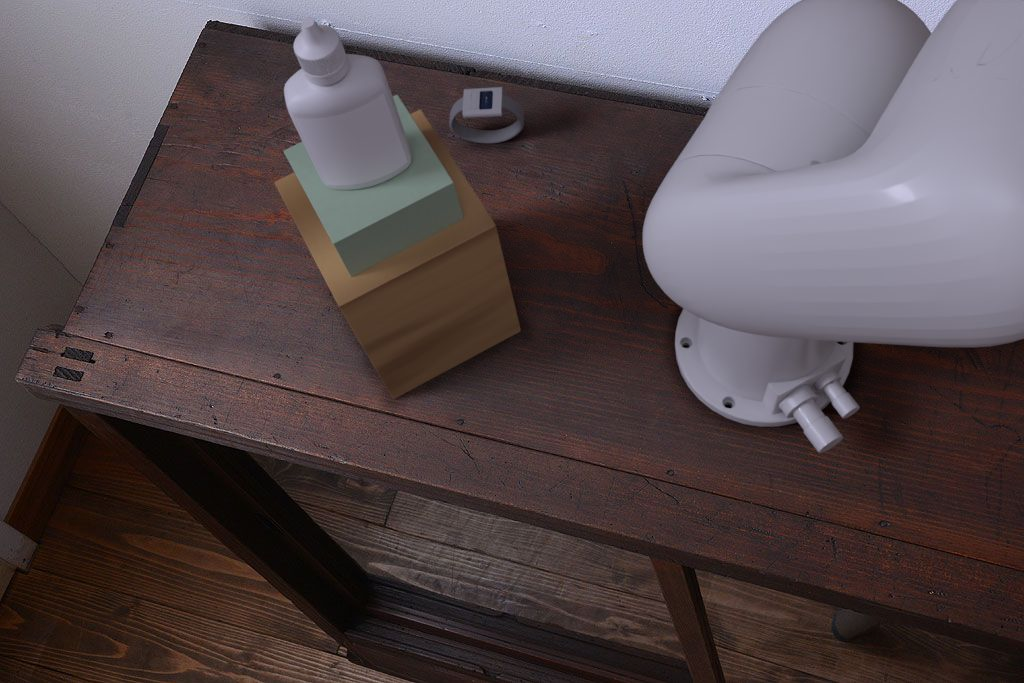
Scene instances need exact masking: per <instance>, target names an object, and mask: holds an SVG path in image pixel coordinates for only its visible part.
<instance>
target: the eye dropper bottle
mask: <svg viewBox="0 0 1024 683" xmlns="http://www.w3.org/2000/svg"><path fill="white" fill-rule="evenodd" d="M300 26H301V31H300V32H299V33H298V35H296V37H295V39H294V41H293V45H292V46H293V47H292V48H293V52H294V54H295V57H296V58H297V62H298V63H299V65H300V69H299V70H297V71H296V72H295V73H294V74H293V75H292V76H290V77H289V78H288V80H287V81H286V82H285V84H284V86H283V96H284V100H285V106H286V110H287V112H288V114H289V116H290V119H291V121H292V123H293V125H294V127H295V129H296V131H297V134H298V136H299V138H300V140H301V142H303V144H304V146H305V148H306V150H307V152H308V154H309V156H310V158H311V160H312V162H313V164H314V166H315V168H316V170H317V172H318V174H319V176H320V178H321V180H322V182H323V183H324V185H325V186H326V187H329V188H331V189H337V190H353V189H361V188H367V187H371V186H374V185H377V184H380V183H382V182H385V181H387V180H389V179H391V178H393V177H395V176H397V175H398V174H400V173H401V172H403V171H404V170H405V169H407V168H408V166H409V165H410V164H411V158H412V157H411V152H410V148H409V144H408V141H407V137H406V134H405V131H404V128H403V125H402V123H401V120H400V117H399V114H398V111H397V108H396V105H395V102H394V99H393V96H394V95H393V94H392V91H391V87H390V85H389V82H388V79H387V76H386V74H385V70H384V68H383V66H382V65H381V63H380V62H379V60H378V59H376V58H374V57H371V56H367V55H361V54H355V53H354V54H353V53H346V51H345V48H344V44H343V43H342V40H341V37H340V34H339V33H338V32H337V30H336V29H335V28H334V27H331V26H329V25H326V24H318V22H317V21H316V20H315V19H314V17H312V16H306V17H304V18H303V19H301V21H300Z"/></svg>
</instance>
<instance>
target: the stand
mask: <svg viewBox="0 0 1024 683" xmlns="http://www.w3.org/2000/svg"><path fill="white" fill-rule="evenodd" d="M410 115H411V116H412V118H413V119H414V121H415V123H416V124H417V126H418V127H419V129H420V130H421V132H422V134H423V135H424V137H425V138H426V140H427V141H428V143H429V145H430V146H431V148H432V149H433V151H434V152H435V154H436V156H437V157H438V159H439V160H440V162H441V163H442V165H443V167H444V168H445V170H446V171H447V173H448V174H449V176H450V178H451V179H452V181H453V182H454V186H455V189H456V193H457V196H458V200H459V203H460V207H461V210H462V214H463V217H464V219H463V220H461V221H459V222H457V223H455V224H453V225H451V226H449V227H447V228H445V229H443V230H441V231H439V232H437V233H436V234H434V235H432V236H430V237H428V238H426V239H424V240H422V241H420V242H418V243H416V244H414V245H412V246H410V247H408V248H407V249H405V250H403V251H401V252H399V253H397V254H395V255H393V256H391V257H389V258H387V259H385V260H383V261H381V262H379V263H377V264H376V265H374V266H372V267H370V268H368V269H366V270H364V271H362V272H360V273H358V274H356V275H354V276H352V277H351V276H350V275H349V273H348V271H347V269H346V267H345V265H344V263H343V262H342V260H341V258H340V256H339V254H338V252H337V250H336V249H335V247H334V245H333V243H332V241H331V239H330V237H329V236H328V234H327V232H326V230H325V228H324V226H323V224H322V223H321V221H320V219H319V217H318V215H317V213H316V211H315V209H314V208H313V206H312V204H311V202H310V200H309V198H308V196H307V195H306V193H305V191H304V189H303V187H302V185H301V183H300V182H299V180H298V178H297V176H296V174H295V172H294V171H293V172H292V173H290V174H288V175H286V176H284V177H282V178H280V179H278V180H276V181H274V185H275V187H276V189H277V191H278V193H279V195H280V196H281V199H282V201H283V202H284V204H285V206H286V208H287V210H288V212H289V213H290V216H291V217H292V220H293V222H294V224H295V226H296V227H297V229H298V232H299V233H300V235H301V237H302V239H303V240H304V243H305V245H306V247H307V249H308V250H309V252H310V255H311V256H312V258H313V260H314V263H315V264H316V265H317V268H318V269H319V271H320V274H321V275H322V277H323V279H324V281H325V283H326V285H327V287H328V288H329V291H330V293H331V294H332V296H333V298H334V300H335V302H336V305H337V306H338V307H339V309H340V312H341V313H342V315H343V316H344V318H345V320H346V321H347V323H348V325H349V327H350V328H351V330H352V332H353V333H354V335H355V337H356V338H357V340H358V342H359V343H360V345H361V346H362V348H363V349H362V350H364V352H365V354H366V355H367V357H368V359H369V361H370V362H371V364H372V366H373V368H374V370H376V373H377V374H378V376H379V378H380V379H381V381H382V383H383V384H384V386H385V388H386V389H387V392H388V393H389V395H390V396H391V398H392V400H395V399H397V398H399V397H401V396H403V395H405V394H407V393H408V392H410V391H412V390H414V389H416V388H417V387H419V386H422V385H423V384H425V383H427V382H429V381H431V380H433V379H434V378H436V377H439V376H440V375H442V374H444V373H446V372H448V371H449V370H451V369H453V368H455V367H457V366H459V365H461V364H463V363H464V362H466V361H468V360H470V359H472V358H474V357H475V356H477V355H479V354H481V353H483V352H485V351H487V350H488V349H490V348H492V347H494V346H497V345H498V344H500V343H501V342H504V341H505V340H507V339H509V338H511V337H513V336H515V335H517V334H519V333H520V332H521V331H522V329H521V325H520V320H519V316H518V312H517V308H516V304H515V300H514V295H513V291H512V288H511V287H512V286H511V283H510V279H509V274H508V270H507V267H506V262H505V258H504V253H503V250H502V245H501V240H500V236H499V233H498V228H497V225H496V223H495V222H494V220H493V219H492V217H491V216H490V214H489V212H488V211H487V209H486V208H485V206H484V204H483V203H482V201H481V200H480V198H479V197H478V195H477V193H476V192H475V191H474V189H473V188H472V186H471V184H470V183H469V181H468V180H467V178H466V177H465V175H464V173H463V171H462V170H461V169H460V167H459V166H458V164H457V163H456V161H455V160H454V158H453V157H452V155H451V153H450V152H449V150H448V149H447V147H446V146H445V144H444V143H443V140H442V139H441V138H440V136H439V135H438V133H437V132H436V130H435V129H434V127H433V126H432V124H431V122H430V121H429V119H428V117H427V116H426V115H425V113H424V111H423V110H422V108H421V109H418V110H416V111H414V112H411V113H410Z"/></svg>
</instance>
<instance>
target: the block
mask: <svg viewBox="0 0 1024 683" xmlns="http://www.w3.org/2000/svg"><path fill="white" fill-rule="evenodd" d="M392 96H393V99H394V102H395V105H396V108H397V111H398V114H399V117H400V120H401V123H402V125H403V128H404V131H405V134H406V137H407V141H408V144H409V148H410V152H411V157H412V158H411V164H410V165H409V166H408V168H407V169H405V170H404V171H403V172H401V173H400V174H398V175H397V176H395V177H393V178H391V179H389V180H387V181H385V182H382V183H380V184H377V185H374V186H371V187H367V188H361V189H353V190H337V189H331V188H329V187H326V186H325V185H324V183H323V182H322V180H321V178H320V176H319V174H318V172H317V170H316V168H315V166H314V164H313V162H312V160H311V158H310V156H309V154H308V152H307V150H306V148H305V146H304V144H303V142H302V141H300V142H298V143H296V144H294V145H292V146H290V147H288V148H285V149H283V153H284V155H285V157H286V159H287V161H288V163H289V164H290V166H291V169H292V171H293V173H294V172H295V174H296V176H297V178H298V180H299V182H300V183H301V185H302V187H303V189H304V191H305V193H306V195H307V196H308V198H309V200H310V202H311V204H312V206H313V208H314V209H315V211H316V213H317V215H318V217H319V219H320V221H321V223H322V224H323V226H324V228H325V230H326V232H327V234H328V236H329V237H330V239H331V241H332V243H333V245H334V247H335V249H336V250H337V252H338V254H339V256H340V258H341V260H342V262H343V263H344V265H345V267H346V269H347V271H348V273H349V275H350V276H351V277H352V276H354V275H356V274H358V273H360V272H362V271H364V270H366V269H368V268H370V267H372V266H374V265H376V264H377V263H379V262H381V261H383V260H385V259H387V258H389V257H391V256H393V255H395V254H397V253H399V252H401V251H403V250H405V249H407V248H408V247H410V246H412V245H414V244H416V243H418V242H420V241H422V240H424V239H426V238H428V237H430V236H432V235H434V234H436V233H437V232H439V231H441V230H443V229H445V228H447V227H449V226H451V225H453V224H455V223H457V222H459V221H461V220H463V219H464V217H463V214H462V210H461V207H460V203H459V200H458V196H457V193H456V189H455V186H454V182H453V181H452V179H451V178H450V176H449V174H448V173H447V171H446V170H445V168H444V167H443V165H442V163H441V162H440V160H439V159H438V157H437V156H436V154H435V152H434V151H433V149H432V148H431V146H430V145H429V143H428V141H427V140H426V138H425V137H424V135H423V134H422V132H421V130H420V129H419V127H418V126H417V124H416V123H415V121H414V119H413V118H412V116H411V115H410V114H411V113H410V112H409V110H408V109H407V107H406V105H405V104H404V102H403V100H402V98H400V96H399V95H398V94H395V95H392Z"/></svg>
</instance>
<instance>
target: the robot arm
mask: <svg viewBox="0 0 1024 683" xmlns="http://www.w3.org/2000/svg"><path fill="white" fill-rule="evenodd" d="M642 250H643V255H644V259H645V263H646V265H647V268H648V270H649V272H650V274H651V277H652V279H653V280H654V281H655V283H656V284H657V285H658V287H659V288H660V289H661V291H663V293H664V294H665V295H666V296H667V297H668V298H669V299H670V300H671V301H673V303H675V304H677V305H678V306H679V307H680V308H682V311H681V312H680V314H679V317H678V320H677V324H676V329H675V336H674V351H675V352H674V353H675V360H676V363H677V366H678V369H679V372H680V375H681V377H682V379H683V380H684V382H685V383H686V386H687V387H688V389H689V390H690V391H691V392H692V393H693V394H694V396H695V397H696V398H697V399H698V400H699V401H700V402H701V403H703V405H705V406H706V407H707V408H709V409H710V410H711V411H713V412H714V413H715V414H716V413H717V414H718V415H720V416H722V417H723V418H726V419H728V420H731V421H733V422H736V423H739V424H742V425H748V426H753V427H759V428H760V427H762V428H764V427H766V428H768V427H769V428H770V427H771V428H772V427H773V428H774V427H783V426H788V425H793V424H796V423H797V424H799V426H800V428H801V429H802V430H803V434H804V435H805V436H806V438H807V439H808V441H809V442H810V444H811V445H812V446H813V448H814V449H815V450H816V452H818V454H823V453H825V452H827V451H829V450H831V449H833V448H834V447H836V446H837V445H838V444H839V443H840V442H841V441H842V440H843V439H844V436H843V435H842V433H841V432H840V430H839V429H838V428H837V427H836V425H835V424H834V423H833V421H832V420H831V419H830V417H829V416H828V415H825V413H824V412H823V410H824V409H825V408H826V407H827V406H828V405H830V404H831V406H832V407H833V408H834V409H835V411H836V412H837V413H838V415H839V416H840V417H841V419H842V420H845V419H847V418H850V417H851V416H853V415H854V414H856V413H857V412H858V411H859V410H860V408H861V406H860V405H859V404H858V402H857V401H856V400H855V399H854V397H853V395H851V393H850V392H849V391H848V392H847V390H846V389H845V388H844V385H845V383H846V380H847V378H848V376H849V374H850V371H851V367H852V364H853V360H854V343H860V344H879V345H893V346H896V345H897V346H912V347H913V346H914V347H929V348H930V347H931V348H986V347H988V348H989V347H995V346H1001V345H1007V344H1011V343H1014V342H1018V341H1021V340H1024V0H955V1H954V3H953V4H952V5H951V6H950V8H948V10H947V11H946V12H945V14H944V15H943V16H942V18H940V20H939V22H937V24H936V26H935V27H934V28H933V31H930V29H929V28H928V26H927V25H926V23H925V21H923V19H921V18H920V16H918V14H917V13H916V12H915V11H913V9H911V8H910V7H908V5H906V4H905V3H903V2H901V1H900V0H799V1H798V2H795V3H794V4H793V5H791V6H790V7H788V8H787V9H785V10H784V11H783V12H781V13H780V14H779V15H778V16H777V17H776V18H775V19H774V20H772V21H771V23H770V24H769V25H768V26H767V27H766V28H765V29H764V30H763V31H762V32H761V33H760V34H759V35H758V37H757V38H756V39H755V41H753V43H752V44H751V46H750V47H749V49H748V50H747V51H746V53H745V54H744V55H743V57H742V59H741V60H740V61H739V62H738V64H737V66H736V67H735V69H734V70H733V71H732V73H731V75H729V78H728V79H727V81H726V83H725V84H724V86H723V87H721V90H720V91H719V92H718V94H717V96H716V97H715V98H714V100H713V102H712V104H711V105H710V106H709V108H708V110H707V112H706V114H705V116H704V118H703V119H702V121H701V122H700V124H699V125H698V127H697V128H696V130H695V131H694V133H693V135H692V136H691V137H690V138H689V140H688V142H687V143H686V145H685V146H684V148H683V149H682V151H681V152H680V154H679V155H678V157H677V158H676V160H675V161H674V163H673V165H672V166H671V167H670V169H669V170H668V171H667V173H666V175H665V177H664V178H663V179H662V182H661V183H660V185H659V186H658V188H657V191H656V192H655V193H654V195H653V197H652V199H651V200H650V203H649V206H648V207H647V211H646V214H645V218H644V220H643V226H642ZM684 346H687V347H684ZM726 405H729V406H730V408H729V407H726Z"/></svg>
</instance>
